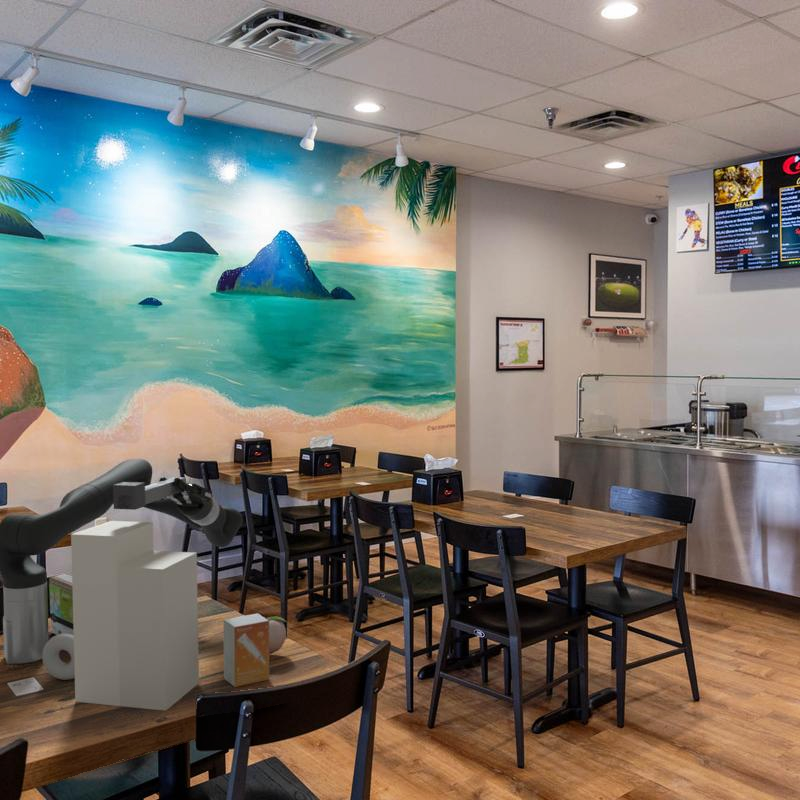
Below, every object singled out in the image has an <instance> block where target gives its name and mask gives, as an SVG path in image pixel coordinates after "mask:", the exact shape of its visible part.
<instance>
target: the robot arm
mask: <svg viewBox="0 0 800 800" xmlns="http://www.w3.org/2000/svg"><path fill="white" fill-rule="evenodd" d="M175 477H176V478H175V479H174V487H175V488H176V489H178V490H179V491H180V493H177V494H174V495H171V496H168V497H165V498H163V499H160V500H157V501H154V502H151V503H148V504H145V506H144V507H143V508H146V509H148V510H151V511H155V512H158V513H162V514H165V515H168V516H171V517H172V518H175V519H178V520H180V521H182V522H184V523H185V524H187V525H189V526H192V527H193V528H196V529H202V531H203V532H204V535H205V537H206V539H207V540H208V541H209V542H210V543H211V544H212V545H213V546H215V547H217V548H225V547H228V546H230V544H231V543H232V542H233V539H234V538H235V536H236V534H237V533H238V531H239V530H240V528H241V526H242V524H243V522H244V517H243V514H242V513H241V512H240V511H239V510H237V509H236V508H232V507H228V506H222V505H220V503H218V502H217V500H216V499H215V498H214V497H213V496H212V493H213V491H212V490H209V489H207V488H205V487H203V486H201V485H199V484H196V483H191V484H190V483H188V482H187V481H186V482H184V481H182V480H181V479H180V478H177V477H178V476H175ZM152 478H153V467H152V465H151V463H150V462H149V461H147V460H145V459H142V458H130V459H126V460H124V461H122V462H120V463H118V464H117V465H116V466H114V467H113V468H111V469H110V470H109V471H107V472H105V473H103V474H102V475H100V476H99V477H96V478H95V479H93V480H91V481H89V482H86V483H85V484H84V483H83V484H82V485H79V486H78V487H76V488H75V489H73V490H71V491H69V492H68V493H66V494H65V495H64V496H63V497H62V500H61V501H60V504H59V507H58V508H56V509H54V510H52V511H49V512H47V513H43V514H42V513H41V514H30V513H28V514H25V513H12V514H11V513H10V514H8V515H6V516H5V517H3V519H1V520H0V577H1V579H2V587H3V588H2V589H3V616H2V629H3V631H2V632H3V633H2V634H3V635H2V636H3V657H4V660H5V663H6V664H7V665H11V664H28V663H34V662H37V661H40V660H42V654H43V649H44V647H45V644H46V643H47V642H48V641H49V640H50V639H49V607H48V606H49V603H48V598H49V596H48V572H47V570H46V568H45V567H43V566H42V565H40V564H38V563H37V562H35V560H34V559H33V558H32V556H37V555H38V556H39V555H41V554H44V553H45V552H47V551H48V550H50V549H52V548H53V547H54V546H55V545H57V544H58V543H60V541H62V540H63V539H64V538H66V537H67V536H69V535H71V534H73V533H74V532H75V531H78V530H79V529H81V528H82V527H84V526H86V525H88V524H90V523H92V522H94V521H95V520H97V519H99V518H100V517H102V516H103V515H104V514H106V513H107V512H108V511H109V510H110V509H111V507H112V506H114V502H113V485H115V484H118V483H122V482H139V483H145V486H148V485H151V484H152ZM167 479H168V478H166V477H165V476H162V477H160V479H159V481H158V482H161V481H164V480H167Z"/></svg>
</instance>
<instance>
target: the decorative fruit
mask: <svg viewBox="0 0 800 800" xmlns="http://www.w3.org/2000/svg"><path fill="white" fill-rule="evenodd" d="M265 618H266V619H267V620H269V656H270V655H273V654H275V653H276V652H278V651H279V650H280V649H281V648H282V647H283V645H284V644H285V641H286V639H287V631H286V627H285V624H284V623H287V621H286V620H285V619H284V618H283V617H281V616H274V615H273V616H270V617H268V613H265ZM283 622H284V623H283Z"/></svg>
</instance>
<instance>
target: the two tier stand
mask: <svg viewBox="0 0 800 800" xmlns="http://www.w3.org/2000/svg"><path fill="white" fill-rule="evenodd" d="M70 541H71V543H70V545H71V572H72V589H73V627H74V666H75V678H74V694H75V696H74V697H75V698H74V699H75V703H85V704H86V703H87V704H95V705H105V706H115V707H125V708H133V709H134V708H135V709H146V710H154V711H155V710H157V711H165V712H166V711H167V710H169V709H170V708H172V706H173V705H174V704H176V703H177V702H178V701H180V699H182V698H183V697H184V696H186V695H187V694H188V693H189V692H190V691H191V690H193V689H194V688H195V687H196V686H198V684H200V671H199V670H200V667H199V665H200V663H199V662H200V661H199V659H200V658H199V654H200V653H199V619H198V618H199V617H198V616H199V613H198V611H199V610H198V609H199V607H198V606H199V604H198V601H199V599H198V563H197V562H198V558H197V557H198V553H197V552H192V551H191V552H190V551H189V552H188V551H171V550H170V551H167V550H155V546H154V522H151V521H150V522H147V521H129V520H128V521H125V520H109V521H107V522H104V523H103V522H102V523H100V524H97V525H94V526H91V527H88V528H85V529H83V530H80V531H77V532H75V533H74V532H72V533H70Z"/></svg>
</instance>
